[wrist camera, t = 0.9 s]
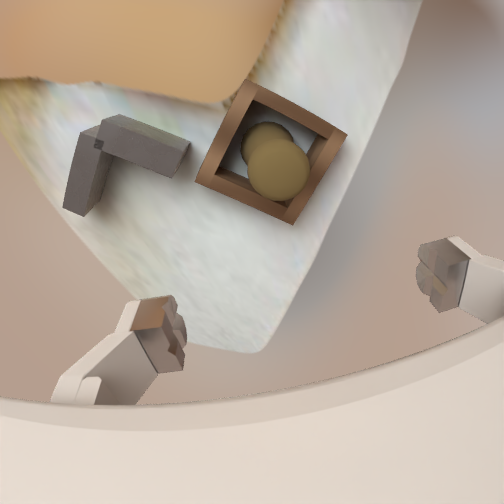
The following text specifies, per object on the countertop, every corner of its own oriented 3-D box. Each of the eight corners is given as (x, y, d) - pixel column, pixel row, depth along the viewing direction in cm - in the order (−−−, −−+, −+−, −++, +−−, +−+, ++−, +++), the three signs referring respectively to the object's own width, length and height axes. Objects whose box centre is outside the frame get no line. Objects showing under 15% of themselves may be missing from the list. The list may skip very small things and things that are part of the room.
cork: (276, 182, 35) (293, 223, 25) (230, 157, 33) (228, 190, 24) (304, 138, 32) (334, 163, 23) (257, 111, 30) (268, 123, 21)
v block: (59, 148, 30) (38, 159, 26) (170, 90, 28) (159, 91, 24) (87, 206, 35) (70, 223, 30) (197, 158, 33) (191, 170, 28)
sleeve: (244, 79, 28) (245, 79, 25) (335, 128, 32) (347, 134, 28) (198, 171, 34) (194, 181, 30) (287, 210, 37) (292, 225, 33)
